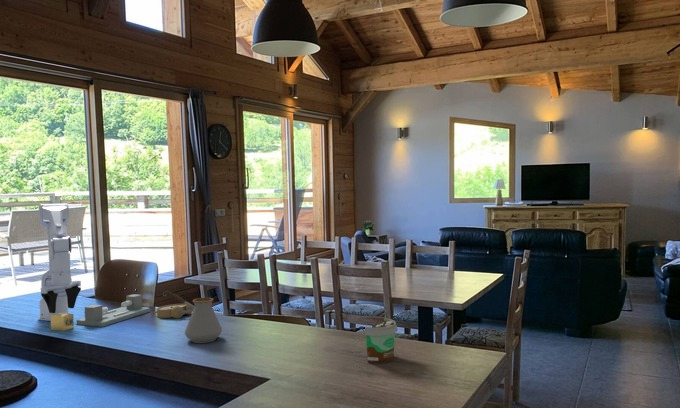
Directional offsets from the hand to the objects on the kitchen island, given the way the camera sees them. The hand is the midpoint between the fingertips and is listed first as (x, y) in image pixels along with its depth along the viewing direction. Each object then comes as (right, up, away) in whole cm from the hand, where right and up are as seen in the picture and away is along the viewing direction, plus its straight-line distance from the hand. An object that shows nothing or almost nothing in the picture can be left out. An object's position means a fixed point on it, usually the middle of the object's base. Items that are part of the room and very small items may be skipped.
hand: (61, 310), depth 175 cm
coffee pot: (+49, -6, -14) cm, 52 cm away
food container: (+110, -6, -37) cm, 116 cm away
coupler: (0, -7, 0) cm, 7 cm away
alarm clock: (+34, -6, +18) cm, 39 cm away
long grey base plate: (+12, -6, +15) cm, 20 cm away
